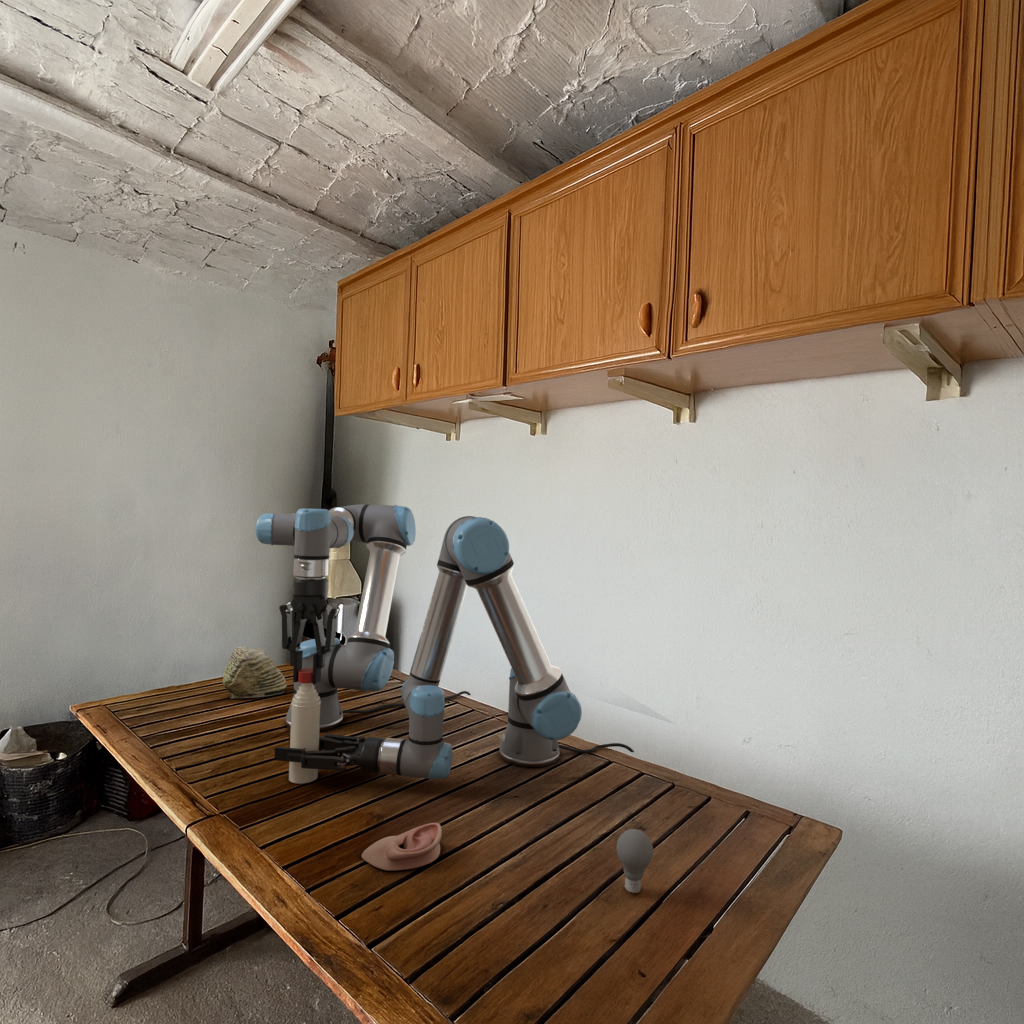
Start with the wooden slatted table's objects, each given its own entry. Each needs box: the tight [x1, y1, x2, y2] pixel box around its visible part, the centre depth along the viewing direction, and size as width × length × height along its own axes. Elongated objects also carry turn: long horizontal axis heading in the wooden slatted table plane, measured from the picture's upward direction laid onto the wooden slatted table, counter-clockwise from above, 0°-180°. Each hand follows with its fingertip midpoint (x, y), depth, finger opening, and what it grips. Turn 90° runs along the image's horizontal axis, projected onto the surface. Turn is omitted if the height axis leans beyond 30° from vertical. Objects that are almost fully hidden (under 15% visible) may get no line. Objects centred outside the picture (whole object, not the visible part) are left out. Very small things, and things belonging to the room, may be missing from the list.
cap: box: [298, 668, 313, 683], centre depth 142 cm, size 4×4×2 cm
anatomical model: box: [361, 822, 443, 872], centre depth 114 cm, size 13×4×12 cm
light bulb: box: [615, 828, 654, 894], centre depth 106 cm, size 6×6×10 cm
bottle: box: [288, 683, 321, 785], centre depth 142 cm, size 6×6×24 cm
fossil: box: [222, 646, 288, 699], centre depth 198 cm, size 9×18×15 cm, turn 132°
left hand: (306, 681), depth 142 cm, fingers closed on cap, 4 cm apart
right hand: (282, 747), depth 143 cm, fingers closed on bottle, 6 cm apart
